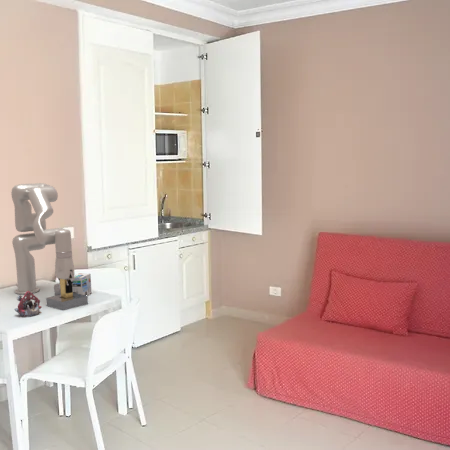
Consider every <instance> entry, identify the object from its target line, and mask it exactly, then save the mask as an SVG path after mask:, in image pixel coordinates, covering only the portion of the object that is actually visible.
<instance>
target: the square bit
mask: <svg viewBox="0 0 450 450" xmlns="http://www.w3.org/2000/svg"><path fill="white" fill-rule="evenodd" d="M69 278H70V277H69ZM69 278H68V279H69ZM68 282H69V280H68ZM66 285H67V284H66V280H65V279H60V288H61V298H64V299H67V298H71V297H73V292H72V293H68V294H67V293H66Z"/></svg>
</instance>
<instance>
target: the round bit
mask: <svg viewBox="0 0 450 450" xmlns="http://www.w3.org/2000/svg"><path fill="white" fill-rule="evenodd" d="M53 289H54V291H53V292H54V296H57V295H61V288H60V283H55V284H54V285H53Z"/></svg>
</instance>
